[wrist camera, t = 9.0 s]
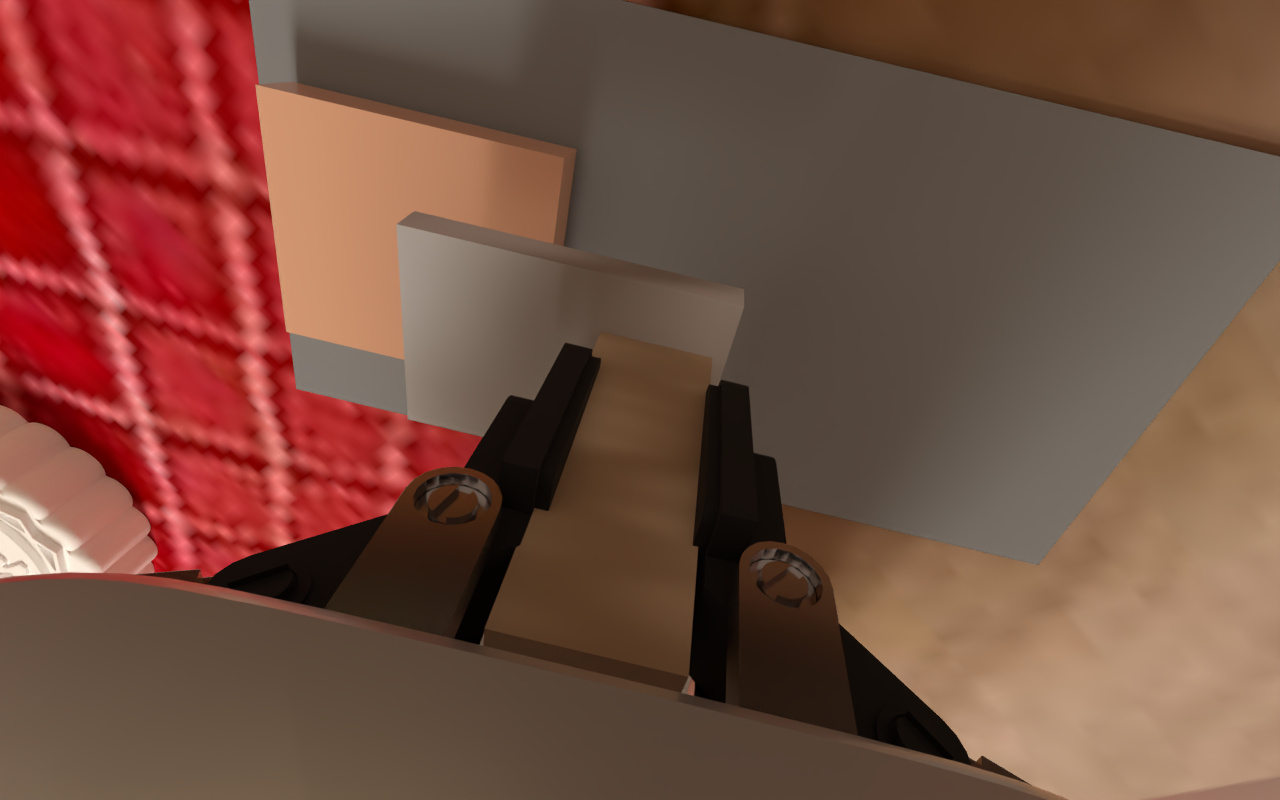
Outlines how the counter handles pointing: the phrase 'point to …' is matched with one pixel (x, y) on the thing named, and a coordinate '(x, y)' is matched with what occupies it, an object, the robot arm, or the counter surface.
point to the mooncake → (63, 508)
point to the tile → (386, 201)
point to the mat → (845, 241)
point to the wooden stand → (605, 440)
